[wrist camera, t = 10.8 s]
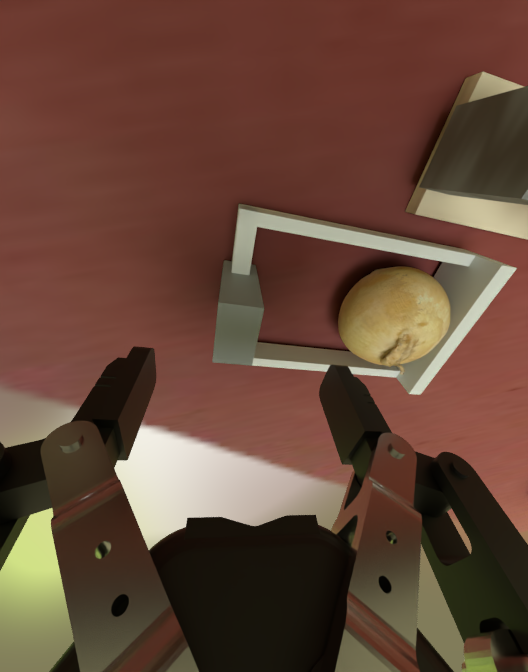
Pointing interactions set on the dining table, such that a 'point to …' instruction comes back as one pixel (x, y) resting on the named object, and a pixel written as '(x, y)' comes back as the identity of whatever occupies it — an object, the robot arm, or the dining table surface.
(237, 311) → the grey rectangular frame
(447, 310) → the onion
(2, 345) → the dining table surface
